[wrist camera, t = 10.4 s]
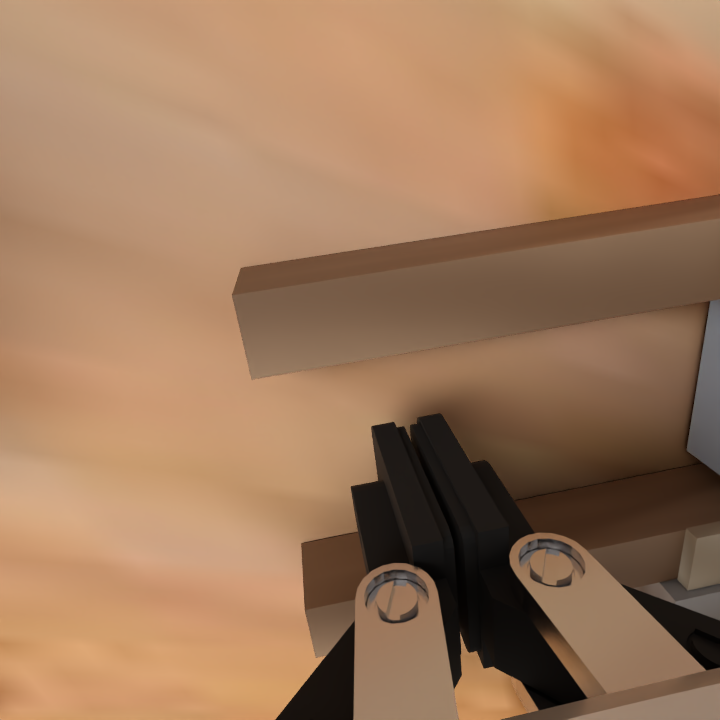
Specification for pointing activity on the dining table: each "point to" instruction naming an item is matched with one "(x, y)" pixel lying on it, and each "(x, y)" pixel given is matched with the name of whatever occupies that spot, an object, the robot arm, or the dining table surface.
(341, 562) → the beam slot
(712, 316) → the block
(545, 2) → the dining table surface
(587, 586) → the robot arm
